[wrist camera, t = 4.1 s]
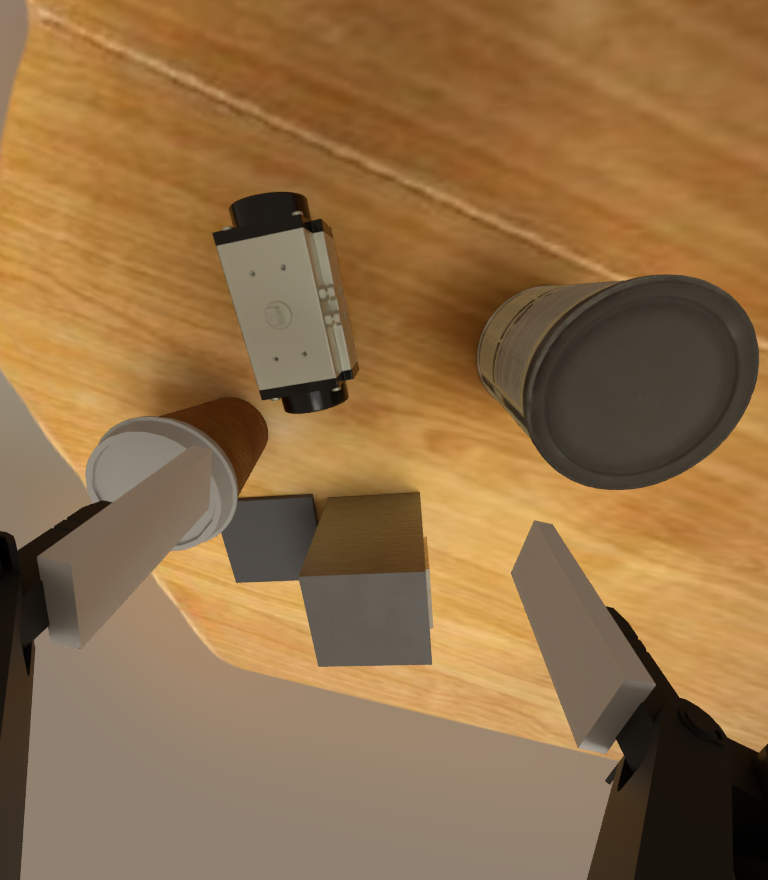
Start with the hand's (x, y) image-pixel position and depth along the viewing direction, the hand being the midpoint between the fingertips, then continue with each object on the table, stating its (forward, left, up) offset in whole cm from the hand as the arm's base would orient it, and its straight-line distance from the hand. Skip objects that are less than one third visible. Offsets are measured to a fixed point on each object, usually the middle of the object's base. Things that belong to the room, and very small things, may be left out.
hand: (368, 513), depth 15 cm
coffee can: (-3, +13, -19) cm, 23 cm away
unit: (+14, -2, -19) cm, 24 cm away
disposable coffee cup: (+2, -14, -19) cm, 24 cm away
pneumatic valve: (-8, -4, -19) cm, 21 cm away
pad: (+14, -13, -19) cm, 27 cm away
